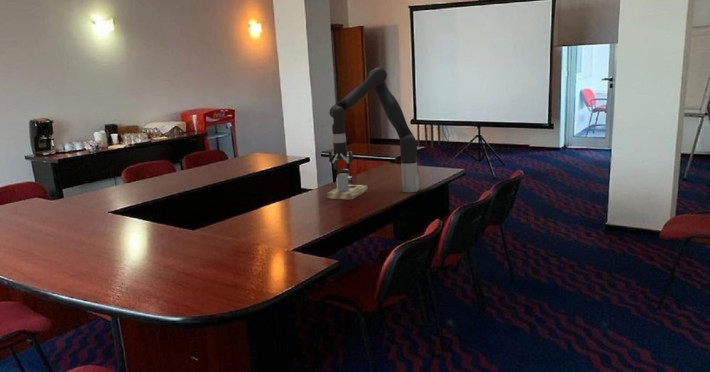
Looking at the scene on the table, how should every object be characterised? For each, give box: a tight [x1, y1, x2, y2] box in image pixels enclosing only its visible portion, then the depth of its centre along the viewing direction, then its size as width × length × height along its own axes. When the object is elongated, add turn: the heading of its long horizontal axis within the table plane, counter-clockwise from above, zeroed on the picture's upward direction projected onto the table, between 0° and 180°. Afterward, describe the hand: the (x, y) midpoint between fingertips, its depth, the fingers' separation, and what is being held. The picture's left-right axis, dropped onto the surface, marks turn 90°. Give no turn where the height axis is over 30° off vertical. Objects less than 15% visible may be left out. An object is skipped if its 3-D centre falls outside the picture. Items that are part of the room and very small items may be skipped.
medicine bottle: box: [336, 168, 354, 188], centre depth 350 cm, size 7×7×12 cm
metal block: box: [336, 173, 349, 192], centre depth 326 cm, size 5×5×10 cm
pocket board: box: [326, 184, 369, 200], centre depth 332 cm, size 16×22×4 cm
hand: (342, 169), depth 324 cm, fingers open, 8 cm apart
